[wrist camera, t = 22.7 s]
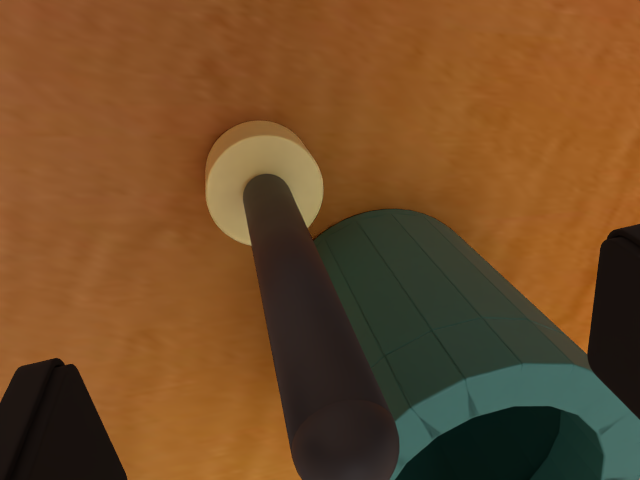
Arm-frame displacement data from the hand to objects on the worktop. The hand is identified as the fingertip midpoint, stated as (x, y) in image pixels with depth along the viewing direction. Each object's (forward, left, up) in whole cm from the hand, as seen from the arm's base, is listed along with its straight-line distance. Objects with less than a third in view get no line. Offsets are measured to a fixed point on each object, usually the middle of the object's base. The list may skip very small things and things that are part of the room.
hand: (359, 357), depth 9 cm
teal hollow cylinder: (+10, +4, -17) cm, 20 cm away
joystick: (+2, -1, -17) cm, 17 cm away
